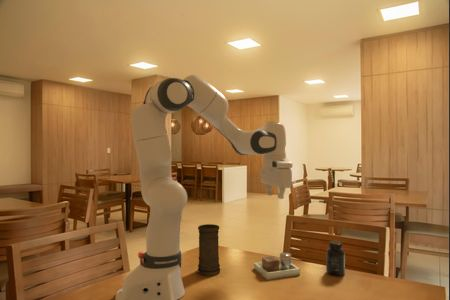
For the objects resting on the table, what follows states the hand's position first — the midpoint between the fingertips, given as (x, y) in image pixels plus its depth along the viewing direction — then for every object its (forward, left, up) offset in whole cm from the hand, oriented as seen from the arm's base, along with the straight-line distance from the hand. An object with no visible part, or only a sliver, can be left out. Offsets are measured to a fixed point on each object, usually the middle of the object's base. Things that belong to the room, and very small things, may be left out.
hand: (275, 196), depth 135 cm
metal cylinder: (+2, -4, -28) cm, 29 cm away
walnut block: (-4, -4, -28) cm, 29 cm away
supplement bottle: (+20, -12, -29) cm, 37 cm away
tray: (-1, -3, -29) cm, 29 cm away
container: (-26, +6, -29) cm, 40 cm away
